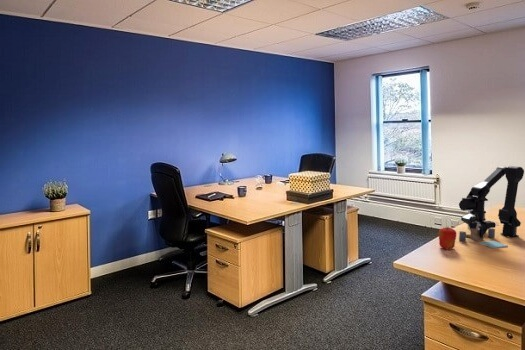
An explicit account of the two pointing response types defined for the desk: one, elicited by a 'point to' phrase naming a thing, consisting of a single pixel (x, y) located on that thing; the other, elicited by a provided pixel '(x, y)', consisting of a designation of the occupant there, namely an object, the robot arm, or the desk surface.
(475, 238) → the walnut block
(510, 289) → the desk surface
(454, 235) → the apple
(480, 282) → the desk surface
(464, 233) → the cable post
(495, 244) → the pale teal mat
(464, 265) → the desk surface
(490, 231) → the cylinder
